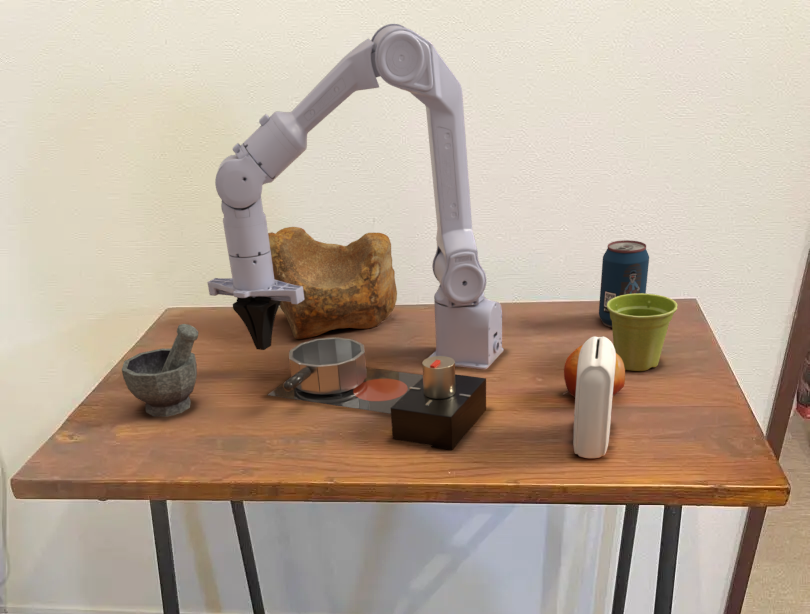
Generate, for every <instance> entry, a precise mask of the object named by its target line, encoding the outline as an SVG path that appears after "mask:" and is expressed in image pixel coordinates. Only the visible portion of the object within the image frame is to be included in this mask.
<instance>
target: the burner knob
mask: <svg viewBox="0 0 810 614" xmlns="http://www.w3.org/2000/svg"><path fill="white" fill-rule="evenodd" d="M421 364H422V365H421V367H422V375H423V390H424V395H425V396H427V397H429V398H434V399H443V398H448V397H451V396H453V395H454V394H455V392H456V388H455V374H456V366H455V361H454V359H452V358H450V357H446V356H434V357H430V358H428V357H427V358H425V359H423V360H422V362H421Z"/></svg>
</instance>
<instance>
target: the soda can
mask: <svg viewBox="0 0 810 614" xmlns="http://www.w3.org/2000/svg"><path fill="white" fill-rule="evenodd" d="M649 263H650V255H649V253H648V249H647V244H646V243H644V242H642V241H638V240H625V239H624V240H615V241H611V242H609V243H608V244H607V247H606V250H605V252H604V254H603V255H602V262H601V274H600V275H601V276H600V277H601V278H600V290H599V303H598V304H599V305H598V316H599V318H600V320H601V322H602V324H603V325H604V326H606V327H609V328H612V320H611V318H610V311H609V310H608V309H607V303H608V301H609V300H611V299H613V298H615V297H617V296H621V295H626V294H639V293H640V294H641V293H644V294H647V287H648V286H647V285H648V274H649Z"/></svg>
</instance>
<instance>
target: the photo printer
mask: <svg viewBox="0 0 810 614" xmlns="http://www.w3.org/2000/svg"><path fill="white" fill-rule="evenodd" d="M582 345H583V346H582V348H581V350H580V354H579V358H578V366H577V381H576V396H575V397H574V398H575V399H574V414H573V436H572V437H573V438H572V439H573V441H572V444H573V445H572V446H573V451H574V454H575V455H577V456H578V457H580V458H585V459H600V458H601V457H602V456H605V455H606V454H607V451H608V448H609V443H610V442H609V441H610V435H611V423H612V422H611V421H612V408H613V397H614V396H613V386H614V375H615V364H616V352H615V348H614V345H613V341H611V340H610V339H609V338H608V337H607V336H604V335H603V336H596V335H593V336H590V337H589V338H587V340H585V341H584V343H583V344H582Z"/></svg>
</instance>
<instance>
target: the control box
mask: <svg viewBox="0 0 810 614" xmlns="http://www.w3.org/2000/svg"><path fill="white" fill-rule="evenodd" d="M455 388H456V392H455V394H454V395H453V396H451V397H448V398H443V399H434V398H429V397H427V396H425V395H424V390H423V378H422V379H421V380H419V381H418V382H417V383H416V384H415V385H414V386H413V387H410V388H409V389H410V390H409V391H408V392H407V393H406V394H405V395H404V396H403V397H402V398H401V399H400V400H398V401H397V402H396V403H395V404H394V405H393V406H392V407H391V414H390V420H391V434H392V440H396V441H402V442H409V443H415V444H420V445H426V446H430V448H435V449H442V450H448V451H453V450H454V449H455V448H456V447H457V445H458V444H459V443H460V442H461V440H462V439H464V437H465V435H467V434H468V432H469V431H470V430H471V429H472V428H473V426H474V425H475V424H476V423H477V421H478V420H479V419H480V418H481V417H482V416H483V414H484V413H485V412H486V411H487V378H486V377H480V376H470V375H463V374H456V373H455Z"/></svg>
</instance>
